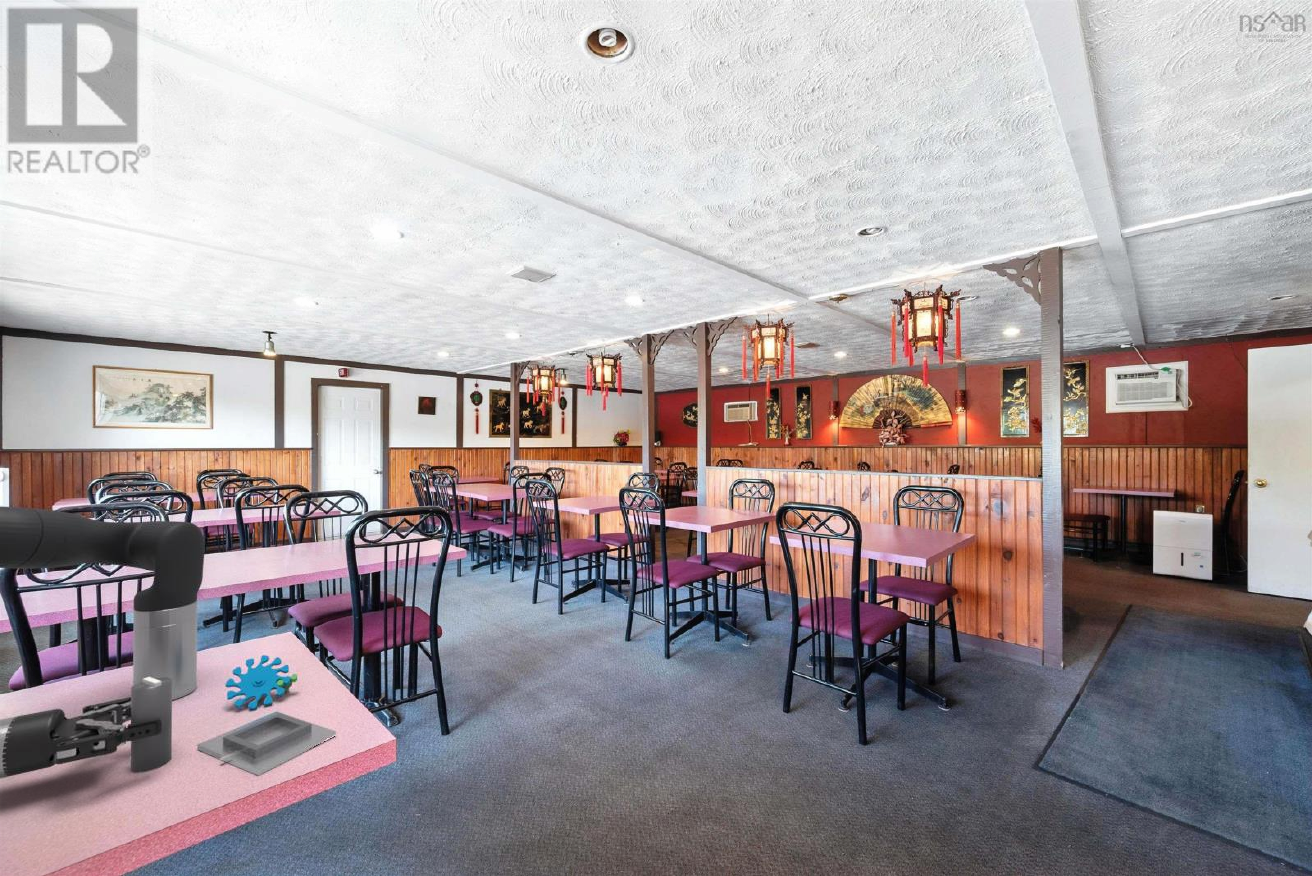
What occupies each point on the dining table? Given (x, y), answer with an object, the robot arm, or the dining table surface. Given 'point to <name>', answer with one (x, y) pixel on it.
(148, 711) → the grey peg
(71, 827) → the dining table surface
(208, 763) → the dining table surface
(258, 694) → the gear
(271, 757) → the grey peg base plate
